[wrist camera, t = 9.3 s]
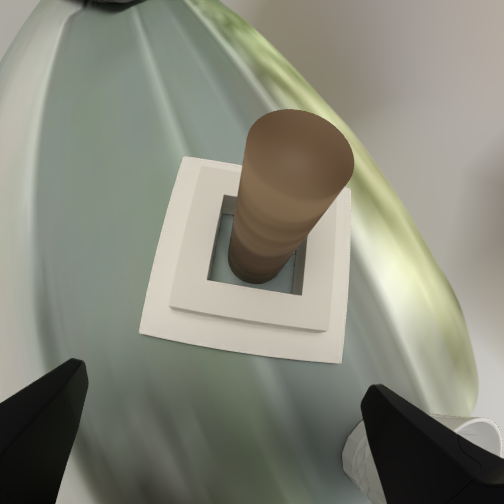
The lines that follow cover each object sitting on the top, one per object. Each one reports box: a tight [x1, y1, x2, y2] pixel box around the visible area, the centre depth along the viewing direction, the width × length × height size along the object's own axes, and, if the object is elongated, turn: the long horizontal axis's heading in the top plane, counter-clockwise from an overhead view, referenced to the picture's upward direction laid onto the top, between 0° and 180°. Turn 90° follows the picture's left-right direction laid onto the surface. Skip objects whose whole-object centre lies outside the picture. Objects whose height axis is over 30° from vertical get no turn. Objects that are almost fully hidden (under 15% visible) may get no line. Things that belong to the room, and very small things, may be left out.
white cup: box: [342, 414, 503, 504], centre depth 14 cm, size 8×8×10 cm
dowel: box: [228, 109, 354, 284], centre depth 17 cm, size 4×4×13 cm
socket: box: [139, 156, 351, 364], centre depth 21 cm, size 14×14×3 cm
